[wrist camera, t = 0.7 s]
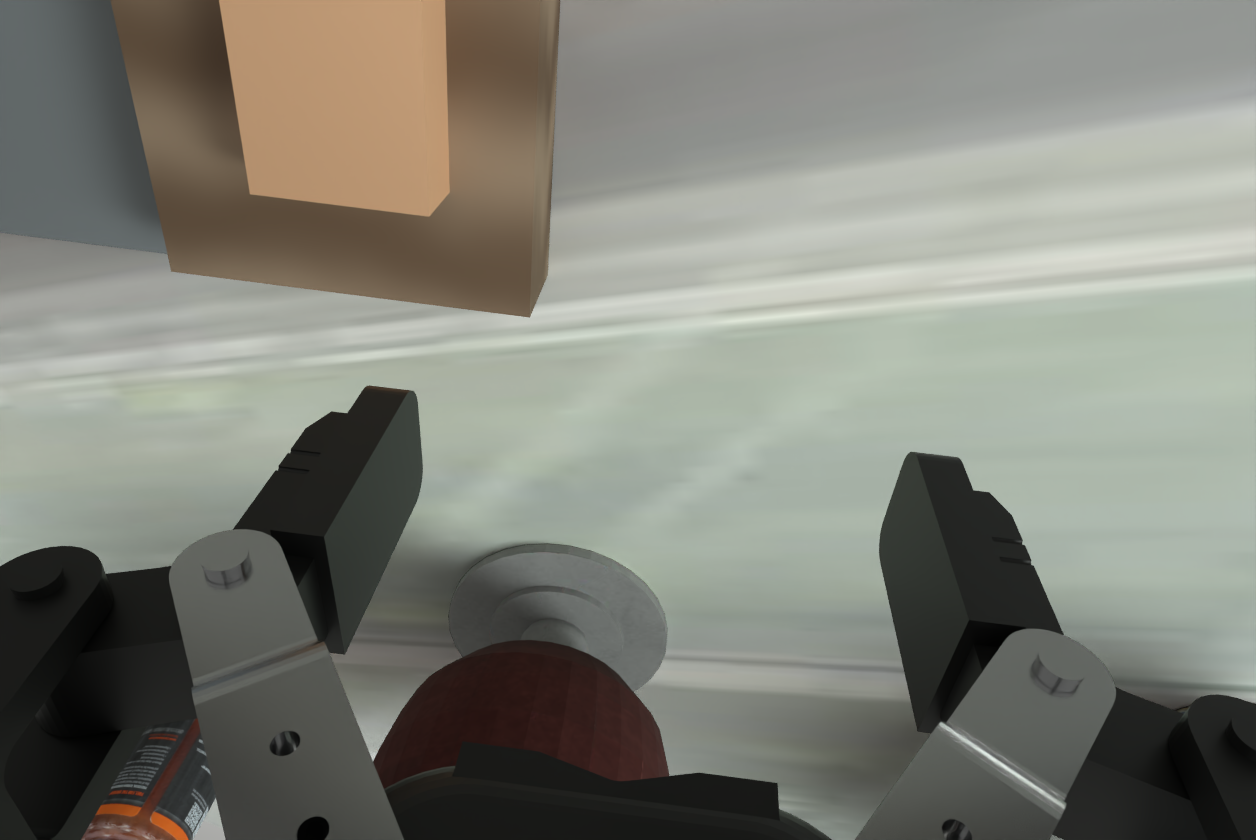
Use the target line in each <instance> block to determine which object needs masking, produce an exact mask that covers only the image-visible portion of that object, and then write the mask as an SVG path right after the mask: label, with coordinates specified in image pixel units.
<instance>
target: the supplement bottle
mask: <svg viewBox="0 0 1256 840" xmlns="http://www.w3.org/2000/svg"><path fill="white" fill-rule="evenodd" d="M215 798H216V796H215V791H214V787H213V783H212V779H211V774H210V770H209V766H208V761H207V757H206V753H205V748H204V744H203V740H202V735H201V731H200V727H199V723H198V718H196V719H190V720H184V721H177V722H171V723H164V724H158V725H152V726H147V727H146V729H145V731H144V732H143V734H142V736H141V738H140V739H139V741H138V743H137V744H136V746H135V748H134V750H133V751H132V753H131V755H130V756H129V758H128V760H127V762H126V763H125V765H124V767H123V768H122V770H121V772H120V774H119V775H118V777H117V779H116V780H115V782H114V784H113V786H112V787H111V789H110V791H109V792H108V794H107V796H106V798H105V799H104V801H103V803H102V804H101V806H100V808H99V810H98V811H97V813H96V815H95V816H94V818H93V820H92V822H91V823H90V825H89V827H88V828H87V830H86V832H85V834H84V835H83V837H82V839H81V840H193V839H194V837H195V835H196V833H197V831H198V829H199V828H200V826H201V824H202V822H203V820H204V818H205V817H206V815H207V813H208V811H209V809H210V807H211V805H212V803H213V802H214V800H215Z"/></svg>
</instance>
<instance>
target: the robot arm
mask: <svg viewBox="0 0 1256 840" xmlns="http://www.w3.org/2000/svg"><path fill="white" fill-rule="evenodd" d="M422 472H423V464H422V451H421V438H420V425H419V413H418V401H417V397H416V394H415V392H414V391H410V390H401V389H393V388H385V387H376V386H366V387H365V388H364V389H363V391H362V392H361V394H360V395H359V397H358V398H357V400H356V401H355V403H354V404H353V406H352V407H351V409H350V410H349V412H348V413H339V412H330V413H329V414H327V415H326V416H324V417H323V418H321V419H319V420H318V421H316V422H315V423H313V424H312V425H310V426H309V427H307V428H306V429H305V430H304V432H303V433H302V434H301V436H300V437H299V439H298V440H297V441H296V443H295V444H294V446H293V447H292V448H291V453H288V454H287V455H286V457H285V458H284V459H283V461H282V462H281V464H280V465H279V469H278V471H275V472H274V473H273V475H272V476H271V477H270V479H269V480H268V482H267V483H266V484H265V486H264V487H263V489H262V490H261V491H260V493H259V494H258V496H257V497H256V498H255V500H254V501H253V502H252V504H251V505H250V507H249V508H248V509H247V511H246V512H245V514H244V515H243V516H242V518H241V519H240V520H239V522H238V523H237V525H236V526H235V527H234V529H233V530H228V531H223V532H219V533H215V534H212V535H209V536H207V537H205V538H202V539H200V540H198V541H197V542H195V543H193V544H192V545H190V546H189V547H188V548H186V549H185V550H184V551H183V552H182V553H181V554H180V555H179V556H178V557H177V558H176V560H175V561H174V562H173V564H172V566H168V567H162V568H154V569H146V570H137V571H128V572H119V573H110V574H106V573H105V571H104V568H103V566H102V563H101V561H100V560H99V558H98V557H97V556H96V555H95V554H94V553H92V552H90V551H89V550H86V549H83V548H79V547H73V546H58V547H49V548H44V549H39V550H36V551H32V552H29V553H26V554H24V555H21V556H19V557H17V558H15V559H13V560H10V561H9V562H7V563H5V564H4V565H2V566H0V840H81V839H82V837H83V835H84V834H85V832H86V830H87V828H88V827H89V825H90V823H91V822H92V820H93V818H94V816H95V815H96V813H97V811H98V810H99V808H100V806H101V804H102V803H103V801H104V799H105V798H106V796H107V794H108V792H109V791H110V789H111V787H112V786H113V784H114V782H115V780H116V779H117V777H118V775H119V774H120V772H121V770H122V768H123V767H124V765H125V763H126V762H127V760H128V758H129V756H130V755H131V753H132V751H133V750H134V748H135V746H136V744H137V743H138V741H139V739H140V738H141V736H142V734H143V732H144V731H145V729H146V727H147V726H152V725H158V724H164V723H171V722H177V721H184V720H190V719H196V718H198V723H199V727H200V731H201V735H202V740H203V744H204V748H205V753H206V757H207V761H208V766H209V770H210V774H211V779H212V783H213V787H214V791H215V796H216V800H217V804H218V809H219V813H220V817H221V822H222V826H223V830H224V834H225V838H226V840H831V839H830V838H829V837H827V836H826V835H825V834H823V833H822V832H820V831H819V830H817V829H816V828H815V827H813V826H812V825H810V824H809V823H807V822H805V821H803V820H801V819H799V818H797V817H795V816H794V815H792V814H789V813H787V812H785V811H782V810H780V809H779V803H778V786H777V783H772V782H765V781H757V780H750V779H742V778H735V777H727V776H720V775H712V774H705V773H693V774H684V775H675V776H666V777H657V778H648V779H639V780H630V781H615V780H611V779H608V778H605V777H603V776H600V775H598V774H595V773H593V772H590V771H588V770H585V769H582V768H580V767H577V766H575V765H572V764H570V763H567V762H565V761H562V760H560V759H557V758H555V757H552V756H549V755H547V754H544V753H542V752H539V751H532V750H524V749H517V748H509V747H502V746H494V745H487V744H479V743H472V742H464V741H463V742H462V745H461V749H460V752H459V755H458V759H457V762H456V766H450V767H442V768H438V769H434V770H430V771H425V772H422V773H419V774H416V775H414V776H411V777H408V778H405V779H403V780H401V781H399V782H397V783H395V784H393V785H391V786H389V787H387V788H385V789H384V788H383V786H382V783H381V781H380V778H379V776H378V773H377V771H376V768H375V766H374V763H373V761H372V758H371V756H370V753H369V751H368V748H367V746H366V743H365V741H364V738H363V736H362V733H361V731H360V728H359V726H358V723H357V721H356V718H355V716H354V713H353V711H352V708H351V706H350V703H349V701H348V698H347V696H346V693H345V691H344V688H343V686H342V683H341V681H340V678H339V676H338V673H337V671H336V668H335V666H334V663H333V661H332V658H331V656H330V653H337V654H345V653H346V651H347V649H348V647H349V645H350V642H351V640H352V638H353V636H354V634H355V632H356V630H357V628H358V625H359V623H360V621H361V619H362V617H363V615H364V613H365V611H366V608H367V606H368V604H369V602H370V600H371V598H372V596H373V593H374V591H375V589H376V587H377V585H378V583H379V581H380V579H381V576H382V574H383V572H384V570H385V568H386V566H387V564H388V562H389V559H390V557H391V555H392V553H393V551H394V549H395V547H396V545H397V542H398V540H399V538H400V536H401V534H402V532H403V530H404V528H405V525H406V523H407V521H408V519H409V517H410V515H411V513H412V511H413V508H414V506H415V504H416V502H417V499H418V496H419V492H420V488H421V482H422ZM1022 541H1023V540H1022V538H1021V535H1020V533H1019V531H1018V529H1017V526H1016V524H1015V522H1014V519H1013V517H1012V515H1011V514H1010V513H1009V512H1008V511H1007V510H1006V509H1005V508H1004V507H1003V506H1002V505H1001V504H1000V503H999V502H998V501H997V500H996V499H995V498H994V497H993V496H992V495H991V494H990V493H989V492H981V491H973V489H972V486H971V483H970V481H969V478H968V476H967V473H966V471H965V468H964V466H963V463H962V461H961V460H960V459H959V458H958V457H951V456H942V455H934V454H926V453H917V452H910V453H909V454H908V455H907V456H906V458H905V460H904V462H903V465H902V468H901V471H900V474H899V477H898V480H897V483H896V485H895V488H894V491H893V494H892V497H891V500H890V503H889V506H888V509H887V512H886V515H885V518H884V521H883V524H882V528H881V533H880V543H879V555H880V563H881V567H882V572H883V577H884V581H885V586H886V590H887V595H888V599H889V604H890V608H891V613H892V617H893V622H894V626H895V631H896V635H897V640H898V645H899V649H900V654H901V658H902V663H903V667H904V672H905V676H906V681H907V685H908V690H909V694H910V699H911V703H912V708H913V712H914V717H915V722H916V726H917V731H918V732H926V733H931V735H930V736H929V738H928V739H927V740H926V742H925V743H924V744H923V746H922V747H921V749H920V750H919V751H918V753H917V754H916V756H915V757H914V758H913V760H912V761H911V763H910V764H909V765H908V767H907V768H906V769H905V771H904V772H903V774H902V775H901V776H900V778H899V779H898V781H897V782H896V783H895V785H894V786H893V788H892V789H891V790H890V792H889V793H888V794H887V796H886V797H885V799H884V800H883V801H882V803H881V804H880V806H879V807H878V808H877V810H876V811H875V813H874V814H873V815H872V817H871V818H870V819H869V821H868V822H867V824H866V825H865V826H864V828H863V829H862V831H861V832H860V833H859V835H858V836H857V837H856V839H855V840H1049V839H1050V838H1051V836H1052V835H1055V836H1057V837H1059V838H1062V839H1064V840H1256V705H1254V704H1251V703H1249V702H1247V701H1244V700H1241V699H1238V698H1234V697H1230V696H1224V695H1207V696H1203V697H1200V698H1198V699H1197V700H1195V701H1194V702H1193V703H1192V704H1191V705H1190V707H1189V708H1188V709H1187V711H1186V712H1185V713H1184V714H1183V713H1180V712H1177V711H1175V710H1172V709H1169V708H1167V707H1164V706H1161V705H1159V704H1156V703H1153V702H1151V701H1148V700H1145V699H1143V698H1140V697H1137V696H1135V695H1132V694H1130V693H1127V692H1125V691H1123V690H1120V689H1119V688H1117V687H1115V683H1114V681H1113V678H1112V676H1111V674H1110V673H1109V671H1108V670H1107V668H1106V667H1105V665H1104V664H1103V663H1102V662H1101V661H1100V660H1099V659H1098V658H1097V657H1096V656H1095V655H1094V654H1093V653H1092V652H1091V651H1089V650H1088V649H1087V648H1086V647H1084V646H1083V645H1081V644H1079V643H1078V642H1076V641H1074V640H1072V639H1070V638H1068V637H1066V636H1064V635H1063V632H1062V630H1061V628H1060V625H1059V623H1058V621H1057V618H1056V616H1055V614H1054V612H1053V609H1052V607H1051V605H1050V602H1049V600H1048V598H1047V595H1046V593H1045V591H1044V588H1043V586H1042V584H1041V582H1040V579H1039V577H1038V575H1037V572H1036V570H1035V568H1034V566H1032V565H1031V559H1030V556H1029V554H1028V552H1027V549H1026V547H1025V545H1022Z"/></svg>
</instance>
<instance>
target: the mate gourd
mask: <svg viewBox="0 0 1256 840" xmlns="http://www.w3.org/2000/svg"><path fill="white" fill-rule="evenodd" d="M448 618H449V627H450V633H451V635H452V638H453V641H454V643H455V646H456V648H457V649H458V651H459V652H460V654H461V655H462V658H460V659H458V660H456V661H454V662H452V663H450V664H449V665H447V666H445V667H443V668H442V669H440V670H439V671H437V672H435V673H434V674H432V675H431V676H429V677H428V678H427V679H426V681H425V682H424V683H423V684H422V685H421V686H420V687H419V688H418V689H417V690H416V692H415V693H414V694H413V696H412V697H411V698H410V700H409V701H408V702H407V704H406V705H405V707H404V708H403V709H402V711H401V712H400V714H399V716H398V717H397V719H396V721H395V723H394V724H393V726H392V728H391V730H390V731H389V733H388V735H387V736H386V738H385V740H384V742H383V743H382V745H381V747H380V749H379V751H378V753H377V755H376V757H375V759H374V761H373V763H374V766H375V768H376V771H377V773H378V776H379V778H380V781H381V783H382V786H383V788H384V789H385V788H387V787H389V786H391V785H393V784H395V783H397V782H399V781H401V780H403V779H405V778H408V777H411V776H414V775H416V774H419V773H422V772H425V771H430V770H434V769H438V768H442V767H450V766H456V762H457V759H458V755H459V752H460V749H461V745H462V742H463V741H464V742H472V743H479V744H487V745H494V746H502V747H509V748H517V749H524V750H532V751H539V752H542V753H544V754H547V755H549V756H552V757H555V758H557V759H560V760H562V761H565V762H567V763H570V764H572V765H575V766H577V767H580V768H582V769H585V770H588V771H590V772H593V773H595V774H598V775H600V776H603V777H605V778H608V779H611V780H615V781H630V780H639V779H648V778H657V777H666V776H669V771H668V766H667V762H666V757H665V752H664V748H663V743H662V739H661V734H660V729H659V728H658V726H657V724H656V722H655V720H654V718H653V716H652V714H651V713H650V711H649V710H648V709H647V708H646V707H645V705H644V704H643V703H642V702H641V700H640V699H639V698H638V697H637V696H636V694H635V693H634V691H635V690H637V689H639V688H640V687H641V686H643V685H644V684H645V683H646V682H647V681H649V680H650V679H651V678H652V676H653V675H654V674H655V672H656V671H657V670H658V668H659V667H660V665H661V663H662V660H663V658H664V655H665V652H666V642H667V624H666V618H665V613H664V611H663V609H662V607H661V605H660V603H659V601H658V598H657V597H656V596H655V595H654V593H653V592H652V591H651V589H650V588H649V587H648V586H647V584H646V583H645V582H643V581H642V580H641V579H640V578H639V577H638V576H637V575H635V574H634V573H633V572H632V571H631V570H629V569H627V568H626V567H624V566H622V565H621V564H619V563H617V562H616V561H614V560H612V559H610V558H607V557H605V556H603V555H600V554H598V553H595V552H593V551H589V550H585V549H581V548H577V547H573V546H567V545H556V544H532V545H522V546H518V547H513V548H509V549H504V550H502V551H500V552H497V553H495V554H493V555H490V556H488V557H486V558H484V559H483V560H482V561H480V562H479V563H477V564H476V565H474V566H473V567H472V568H471V569H470V570H469V571H468V572H467V573H466V574H465V575H464V577H463V578H462V579H461V580H460V582H459V584H458V586H457V588H456V590H455V592H454V595H453V598H452V600H451V604H450V610H449V616H448Z"/></svg>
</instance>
